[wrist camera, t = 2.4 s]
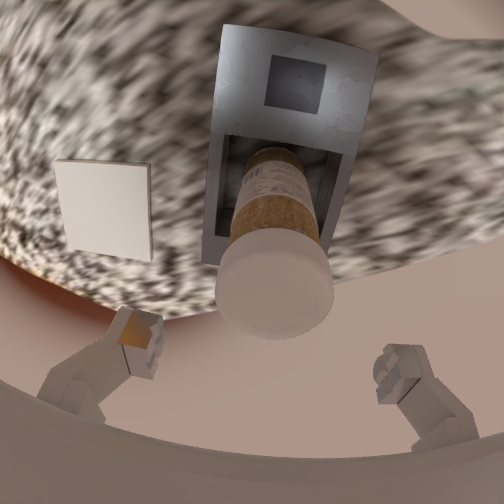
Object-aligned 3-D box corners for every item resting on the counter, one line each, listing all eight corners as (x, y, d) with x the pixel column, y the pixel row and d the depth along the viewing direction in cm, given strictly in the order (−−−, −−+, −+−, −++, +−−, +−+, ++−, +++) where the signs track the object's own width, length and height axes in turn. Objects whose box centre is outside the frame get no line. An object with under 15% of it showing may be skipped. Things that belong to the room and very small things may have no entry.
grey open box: (232, 30, 17) (223, 24, 13) (360, 54, 17) (380, 54, 13) (210, 233, 26) (200, 263, 22) (313, 248, 26) (318, 280, 23)
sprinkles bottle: (266, 211, 24) (259, 356, 13) (230, 166, 22) (187, 292, 11) (317, 181, 23) (355, 316, 12) (283, 131, 21) (295, 233, 10)
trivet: (57, 159, 22) (54, 161, 22) (149, 164, 22) (147, 167, 22) (71, 244, 27) (68, 247, 27) (152, 258, 28) (150, 262, 27)
